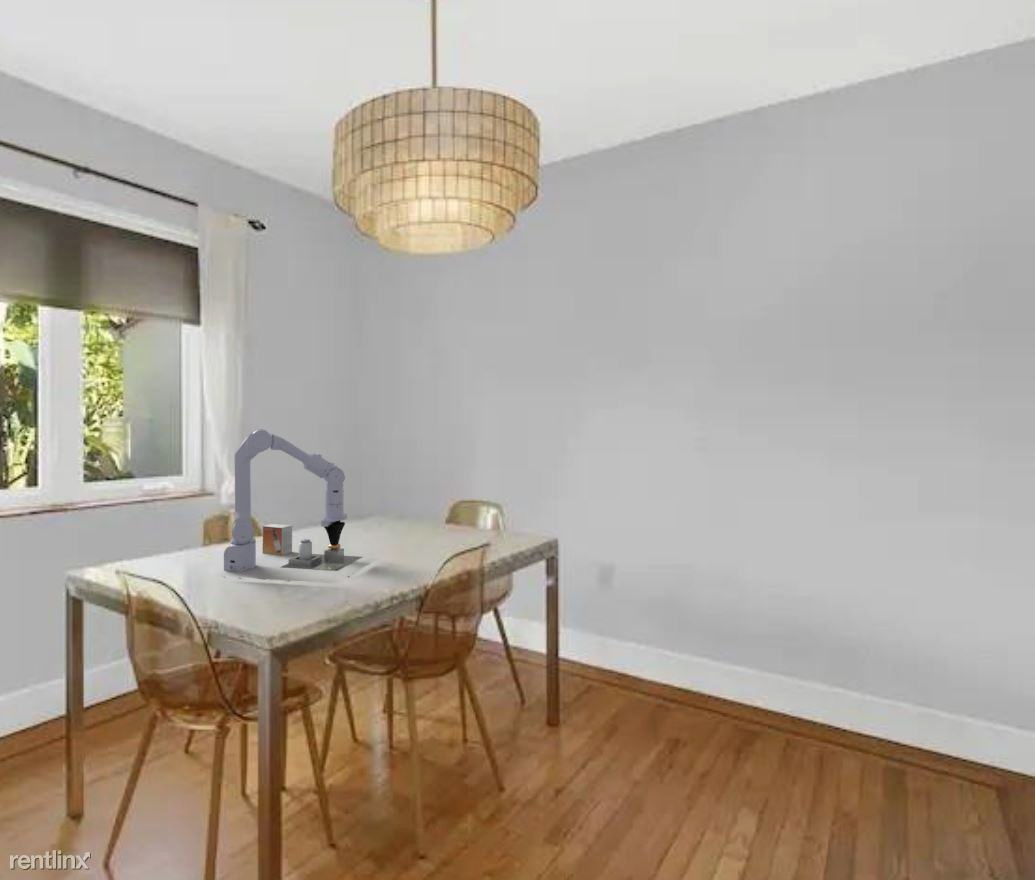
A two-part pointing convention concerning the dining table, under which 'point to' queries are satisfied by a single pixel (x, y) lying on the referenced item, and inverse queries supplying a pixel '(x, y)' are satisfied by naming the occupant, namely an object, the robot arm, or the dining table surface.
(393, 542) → the dining table surface
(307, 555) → the cylinder
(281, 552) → the small box
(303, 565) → the housing
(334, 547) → the plunger
